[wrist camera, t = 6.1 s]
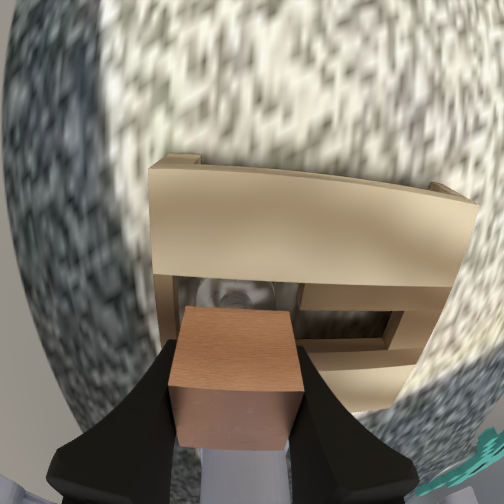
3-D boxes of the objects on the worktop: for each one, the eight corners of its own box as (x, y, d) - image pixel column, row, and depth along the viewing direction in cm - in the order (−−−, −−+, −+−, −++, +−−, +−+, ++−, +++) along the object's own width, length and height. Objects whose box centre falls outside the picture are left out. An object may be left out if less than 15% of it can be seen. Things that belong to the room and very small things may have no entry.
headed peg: (269, 324, 18) (283, 450, 10) (198, 320, 17) (179, 446, 10) (278, 261, 16) (304, 391, 9) (197, 257, 15) (167, 385, 8)
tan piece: (375, 372, 21) (389, 407, 18) (179, 371, 20) (172, 411, 17) (442, 184, 14) (479, 205, 11) (169, 153, 14) (148, 168, 10)
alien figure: (413, 487, 40) (474, 469, 42) (416, 496, 38) (477, 476, 40) (486, 428, 31) (536, 412, 34) (491, 439, 29) (540, 420, 32)
